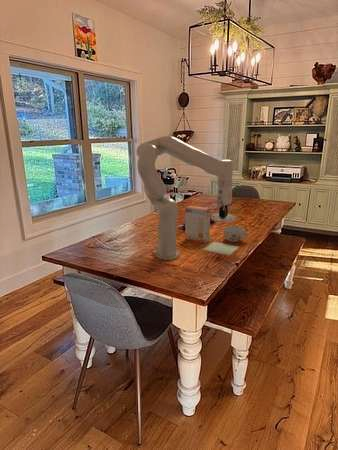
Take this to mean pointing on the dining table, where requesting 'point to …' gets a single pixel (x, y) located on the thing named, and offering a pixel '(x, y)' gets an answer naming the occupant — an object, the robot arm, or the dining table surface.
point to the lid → (220, 219)
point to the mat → (221, 248)
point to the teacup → (234, 233)
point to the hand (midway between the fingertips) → (223, 215)
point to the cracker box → (197, 224)
